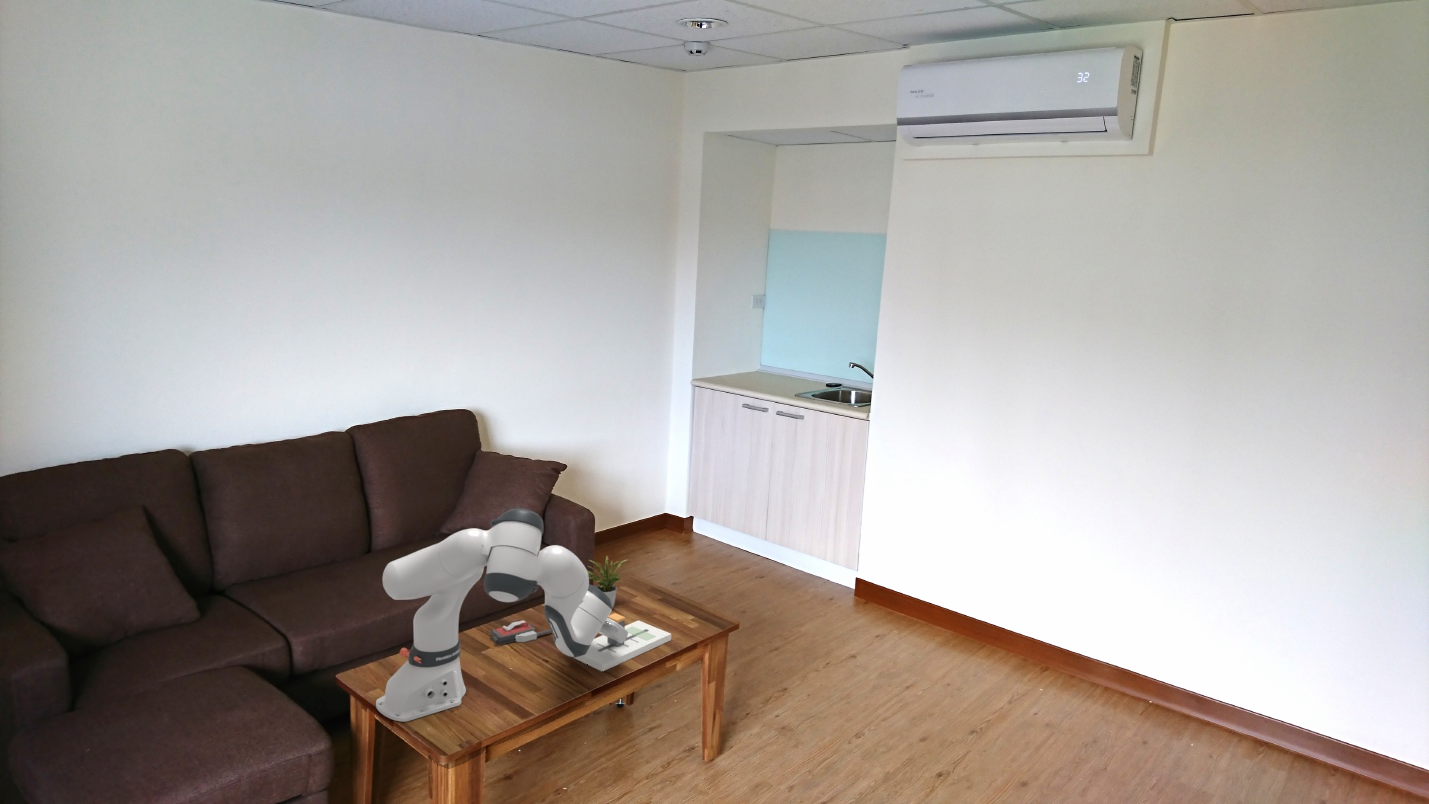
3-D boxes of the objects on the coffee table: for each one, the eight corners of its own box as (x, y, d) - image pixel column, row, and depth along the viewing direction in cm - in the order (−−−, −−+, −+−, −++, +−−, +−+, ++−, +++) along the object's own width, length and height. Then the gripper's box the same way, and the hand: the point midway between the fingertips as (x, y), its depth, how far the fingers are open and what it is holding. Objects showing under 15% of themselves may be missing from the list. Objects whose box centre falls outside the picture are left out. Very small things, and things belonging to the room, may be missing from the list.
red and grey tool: (498, 650, 264) (560, 634, 276) (498, 636, 264) (560, 620, 276) (486, 639, 271) (547, 623, 283) (486, 625, 270) (547, 610, 282)
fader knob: (616, 646, 263) (617, 620, 262) (606, 642, 266) (607, 616, 264) (624, 643, 265) (625, 617, 264) (614, 638, 268) (615, 613, 267)
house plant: (614, 593, 308) (615, 547, 305) (638, 606, 298) (639, 559, 295) (578, 603, 299) (578, 555, 296) (601, 617, 289) (601, 568, 286)
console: (602, 671, 253) (602, 664, 252) (569, 655, 262) (569, 648, 261) (671, 640, 274) (671, 633, 273) (638, 626, 283) (638, 620, 282)
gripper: (617, 614, 249) (642, 636, 258) (568, 594, 262) (594, 616, 271) (605, 634, 246) (630, 656, 255) (556, 613, 259) (582, 634, 268)
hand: (611, 635), depth 263 cm, fingers closed
